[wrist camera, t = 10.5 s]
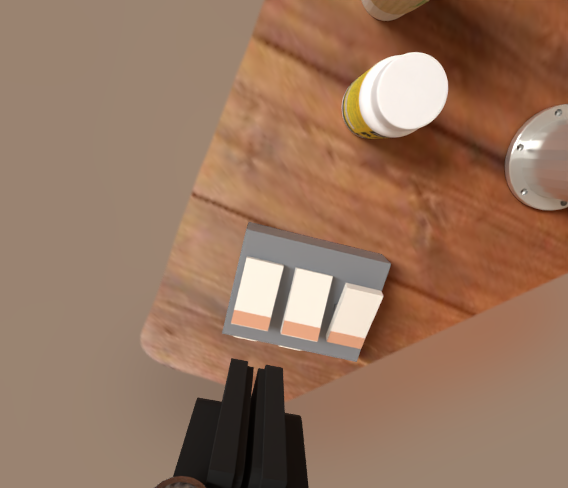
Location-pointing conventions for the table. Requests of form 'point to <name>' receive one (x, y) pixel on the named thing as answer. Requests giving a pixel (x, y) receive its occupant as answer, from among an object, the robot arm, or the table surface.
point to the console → (292, 253)
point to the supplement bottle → (395, 97)
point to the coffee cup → (391, 8)
